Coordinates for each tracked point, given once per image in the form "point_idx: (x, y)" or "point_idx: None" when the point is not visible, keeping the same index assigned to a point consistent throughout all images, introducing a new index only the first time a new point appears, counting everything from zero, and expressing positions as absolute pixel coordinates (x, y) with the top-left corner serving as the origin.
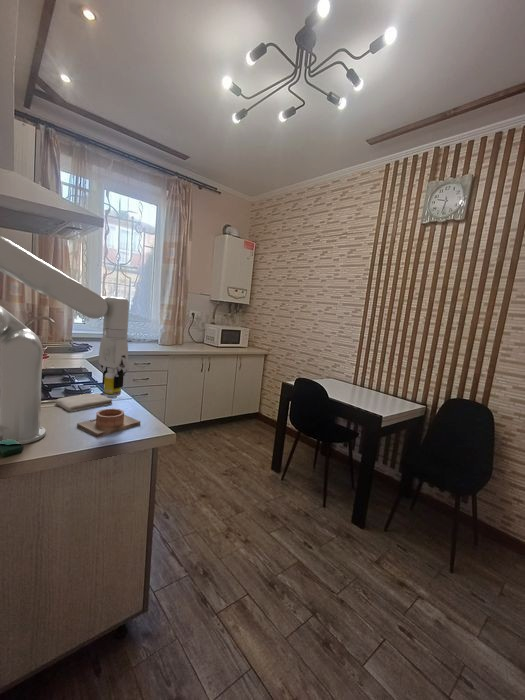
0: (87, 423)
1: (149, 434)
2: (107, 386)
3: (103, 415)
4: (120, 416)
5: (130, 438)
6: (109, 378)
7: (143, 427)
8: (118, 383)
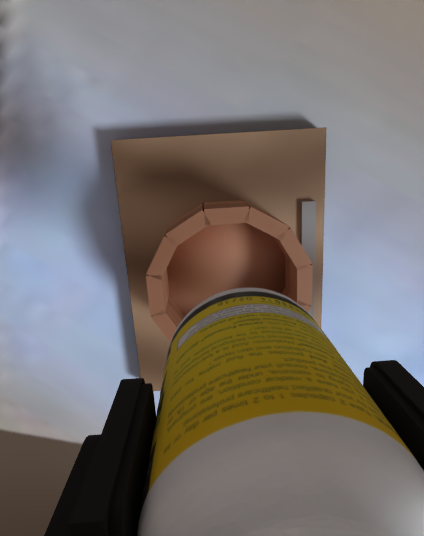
0: (285, 170)
1: (6, 348)
2: (220, 339)
3: (288, 270)
4: (150, 309)
5: (11, 257)
6: (205, 435)
7: (102, 373)
8: (81, 461)
